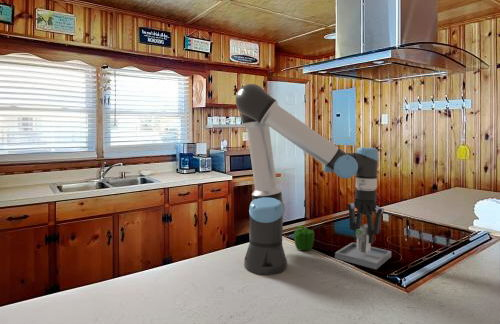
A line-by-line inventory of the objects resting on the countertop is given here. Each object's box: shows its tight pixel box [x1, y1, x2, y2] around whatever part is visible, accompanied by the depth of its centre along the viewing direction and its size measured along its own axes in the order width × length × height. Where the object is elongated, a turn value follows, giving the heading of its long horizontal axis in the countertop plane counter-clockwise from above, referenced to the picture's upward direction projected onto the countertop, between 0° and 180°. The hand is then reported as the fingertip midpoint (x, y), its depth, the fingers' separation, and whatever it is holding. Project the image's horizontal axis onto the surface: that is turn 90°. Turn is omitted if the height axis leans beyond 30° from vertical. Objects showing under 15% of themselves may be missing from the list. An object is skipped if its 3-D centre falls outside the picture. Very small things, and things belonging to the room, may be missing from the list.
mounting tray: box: [334, 242, 392, 270], centre depth 125 cm, size 16×16×2 cm
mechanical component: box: [356, 223, 369, 253], centre depth 125 cm, size 3×10×10 cm, turn 138°
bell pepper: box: [293, 224, 315, 251], centre depth 134 cm, size 8×8×10 cm
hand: (363, 249), depth 125 cm, fingers closed on mechanical component, 3 cm apart
